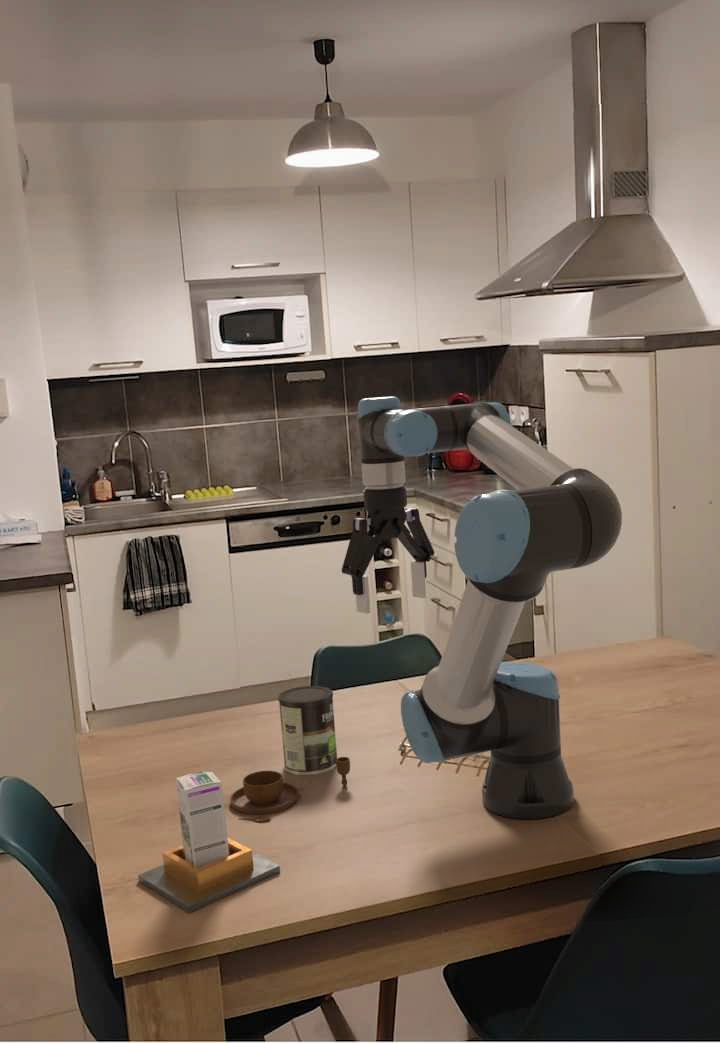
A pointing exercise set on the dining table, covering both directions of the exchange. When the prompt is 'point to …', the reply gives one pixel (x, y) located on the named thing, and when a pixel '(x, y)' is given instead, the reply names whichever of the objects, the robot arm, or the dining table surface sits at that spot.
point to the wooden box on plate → (206, 876)
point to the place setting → (273, 790)
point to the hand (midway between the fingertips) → (392, 604)
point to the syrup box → (202, 818)
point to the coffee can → (308, 730)
